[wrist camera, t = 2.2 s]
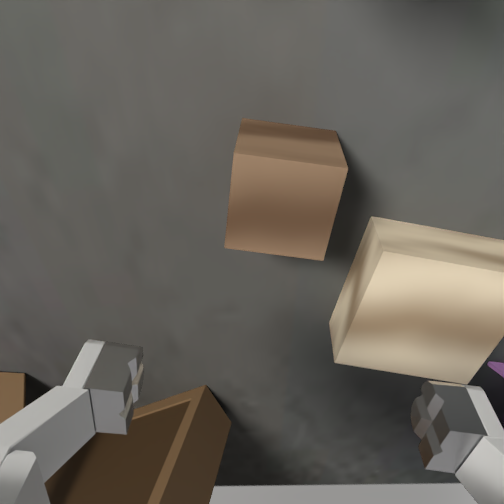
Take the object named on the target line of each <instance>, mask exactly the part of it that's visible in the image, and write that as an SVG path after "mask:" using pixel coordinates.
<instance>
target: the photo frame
mask: <svg viewBox="0 0 504 504" xmlns="http://www.w3.org/2000/svg"><path fill="white" fill-rule="evenodd" d="M25 401H26V375H25V374H24V373H8V372H0V424H1V423H2V422H4V421H5V420H7V419H8V418H10V417H11V416H13V415H14V414H16V413H17V412H19V411H20V410H22V409H23V408H25ZM230 426H231V421H230V420H229V418H228V417H227V415H226V414H225V412H224V411H223V409H222V408H221V406H220V405H219V403H218V402H217V400H216V399H215V397H214V396H213V394H212V393H211V391H210V390H209V389H208V387H207V386H206V385H204V386H201V387H198V388H195V389H192V390H189V391H187V392H184V393H181V394H178V395H175V396H172V397H169V398H166V399H163V400H160V401H157V402H155V403H152V404H149V405H146V406H143V407H140V408H137V409H134V414H133V417H132V420H131V423H130V426H129V429H128V432H127V435H125V434H114V433H102V432H95V435H94V436H93V437H92V438H91V439H89V440H88V441H87V442H86V443H85V444H84V445H83V446H82V447H81V448H80V449H79V450H78V451H77V452H76V453H75V454H74V455H73V456H72V457H71V458H70V459H69V460H68V461H67V462H66V463H65V464H64V465H62V466H61V467H60V468H59V469H58V470H57V471H56V472H55V473H54V474H53V475H52V476H51V477H50V478H49V479H48V480H47V481H46V482H45V483H44V484H45V488H46V491H47V494H48V498H49V501H50V504H209V502H210V498H211V495H212V491H213V488H214V484H215V480H216V477H217V473H218V469H219V466H220V462H221V459H222V455H223V451H224V448H225V444H226V441H227V437H228V433H229V430H230Z"/></svg>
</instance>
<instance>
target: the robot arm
mask: <svg viewBox="0 0 504 504" xmlns="http://www.w3.org/2000/svg"><path fill="white" fill-rule="evenodd" d="M142 358H143V347H141V346H134V345H127V344H120V343H113V342H105V341H98V340H91V339H89V340H88V341H87V342H86V343H85V344H84V346H83V348H82V350H81V351H80V353H79V355H78V357H77V359H76V361H75V363H74V365H73V367H72V369H71V371H70V372H69V374H68V376H67V378H66V380H65V382H64V384H63V386H56V387H54V388H53V389H51V390H50V391H48V392H47V393H45V394H44V395H42V396H41V397H39V398H38V399H36V400H35V401H34V402H32V403H31V404H29V405H28V406H26V407H25V408H23V409H22V410H20V411H19V412H17V413H16V414H14V415H13V416H11V417H10V418H8V419H7V420H5V421H4V422H2V423H1V424H0V504H50V501H49V498H48V494H47V491H46V488H45V484H44V483H45V482H46V481H47V480H48V479H49V478H50V477H51V476H52V475H53V474H54V473H55V472H56V471H57V470H58V469H59V468H60V467H61V466H62V465H64V464H65V463H66V462H67V461H68V460H69V459H70V458H71V457H72V456H73V455H74V454H75V453H76V452H77V451H78V450H79V449H80V448H81V447H82V446H83V445H84V444H85V443H86V442H87V441H88V440H89V439H91V438H92V437H93V436H94V435H95V432H102V433H114V434H125V435H127V432H128V429H129V426H130V423H131V420H132V417H133V414H134V408H133V403H134V402H135V401H137V400H138V399H139V395H140V392H141V388H142V383H143V377H144V366H143V365H142V364H141V361H142ZM420 389H421V392H422V395H421V396H419V397H417V398H415V400H414V402H413V404H412V406H411V415H410V416H411V424H412V427H413V431H414V432H415V433H416V434H417V435H418V437H419V438H420V439H421V441H420V443H419V446H418V447H419V451H420V454H421V457H422V460H423V464H424V467H425V469H428V470H435V471H442V472H449V473H456V474H455V476H456V477H457V478H458V479H459V481H460V482H461V483H462V484H463V485H464V487H465V488H466V489H467V491H468V492H469V493H470V494H471V495H472V497H473V498H474V499H475V501H476V502H477V503H478V504H504V429H503V427H502V426H501V424H500V422H499V420H498V418H497V416H496V414H495V412H494V410H493V408H492V406H491V404H490V402H489V400H488V398H487V396H486V394H485V392H484V390H483V389H482V388H481V387H478V386H470V385H460V384H454V383H445V382H436V381H426V382H424V383H423V385H422V387H421V388H420Z"/></svg>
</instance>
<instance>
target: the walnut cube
mask: <svg viewBox="0 0 504 504" xmlns="http://www.w3.org/2000/svg"><path fill="white" fill-rule="evenodd" d="M347 172H348V166H347V163H346V160H345V157H344V154H343V151H342V148H341V145H340V142H339V139H338V136H337V133H336V131H332V130H325V129H318V128H311V127H303V126H296V125H289V124H281V123H274V122H267V121H260V120H252V119H245V118H242V121H241V125H240V130H239V134H238V138H237V142H236V146H235V150H234V156H233V166H232V176H231V186H230V196H229V206H228V216H227V227H226V237H225V247H224V248H229V249H236V250H244V251H252V252H259V253H267V254H275V255H282V256H290V257H298V258H305V259H313V260H321V261H323V260H324V256H325V253H326V249H327V245H328V242H329V238H330V234H331V230H332V227H333V223H334V219H335V216H336V212H337V208H338V205H339V201H340V197H341V194H342V190H343V186H344V183H345V179H346V175H347Z"/></svg>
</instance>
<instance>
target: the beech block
mask: <svg viewBox="0 0 504 504" xmlns="http://www.w3.org/2000/svg"><path fill="white" fill-rule="evenodd" d="M329 326H330V333H331V341H332V348H333V355H334V363H339V364H345V365H351V366H357V367H363V368H369V369H375V370H381V371H387V372H394V373H400V374H406V375H412V376H418V377H424V378H430V379H436V380H442V381H448V382H454V383H461V384H468V383H469V382H470V380H471V379H472V378H473V376H474V375H475V374H476V372H477V371H478V370H479V368H480V367H481V366H482V364H483V363H484V362H485V360H486V359H487V358H488V356H489V355H490V354H491V352H492V351H493V350H494V348H495V347H496V346H497V344H498V343H499V342H500V340H501V339H502V338H503V336H504V240H499V239H493V238H488V237H482V236H477V235H472V234H466V233H461V232H455V231H450V230H444V229H439V228H433V227H428V226H422V225H417V224H411V223H406V222H401V221H395V220H390V219H384V218H379V217H373V216H371V217H370V220H369V223H368V225H367V228H366V230H365V233H364V235H363V238H362V240H361V243H360V245H359V248H358V250H357V253H356V256H355V258H354V261H353V263H352V266H351V268H350V271H349V273H348V276H347V278H346V281H345V284H344V286H343V289H342V291H341V294H340V296H339V299H338V301H337V304H336V306H335V309H334V311H333V314H332V317H331V319H330V322H329Z"/></svg>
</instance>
